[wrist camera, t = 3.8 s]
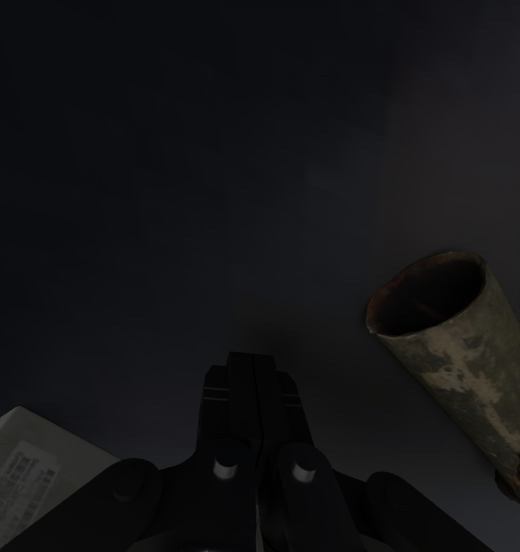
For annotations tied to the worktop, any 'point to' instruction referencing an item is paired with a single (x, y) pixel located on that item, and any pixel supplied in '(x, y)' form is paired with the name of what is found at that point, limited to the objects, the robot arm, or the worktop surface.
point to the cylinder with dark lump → (459, 349)
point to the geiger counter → (41, 469)
